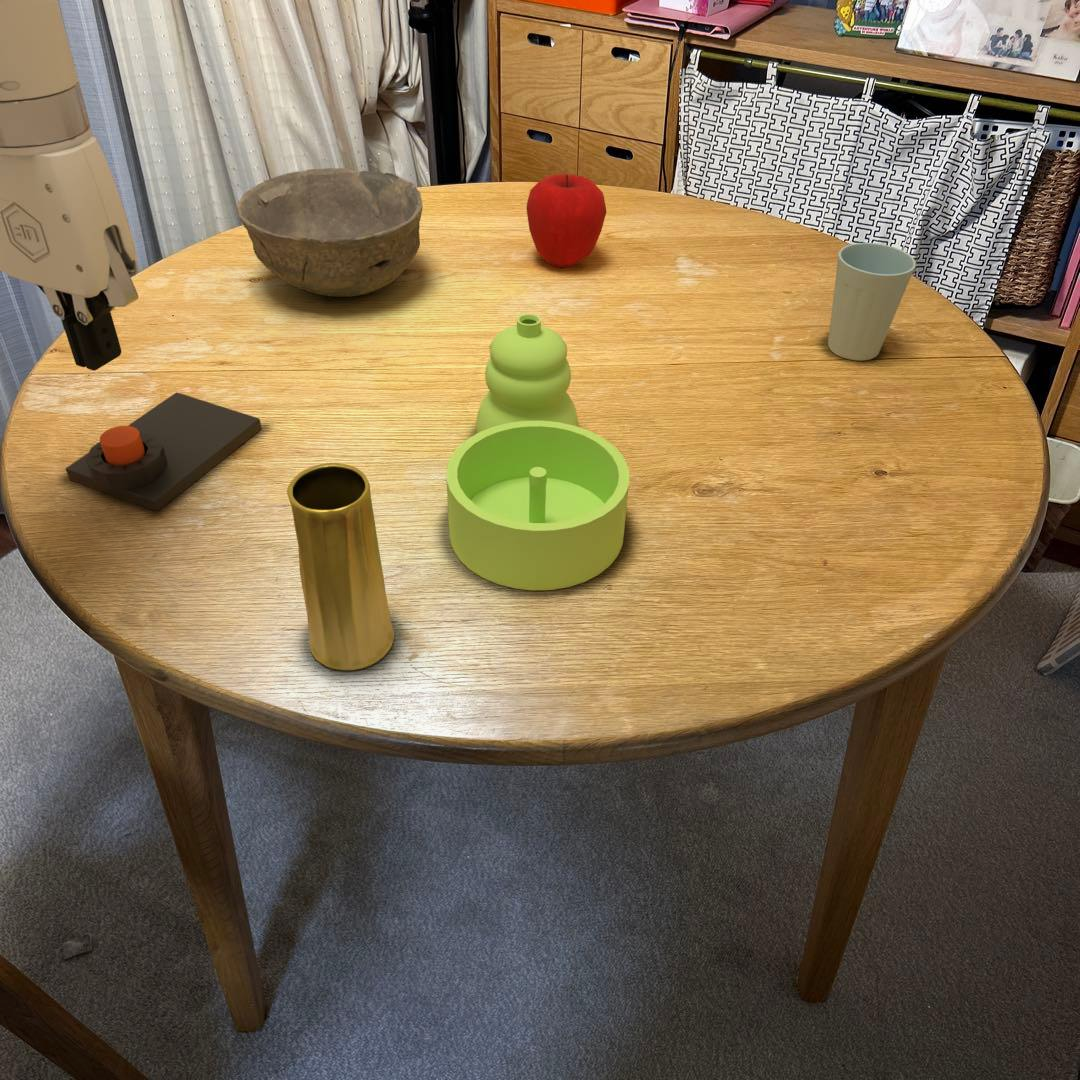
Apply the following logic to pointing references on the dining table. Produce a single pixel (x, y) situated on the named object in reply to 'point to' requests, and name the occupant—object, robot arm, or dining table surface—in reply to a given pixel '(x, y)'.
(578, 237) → the apple
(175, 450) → the button base plate
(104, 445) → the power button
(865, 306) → the cup
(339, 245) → the bowl
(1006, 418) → the dining table surface
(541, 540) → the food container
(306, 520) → the vase
